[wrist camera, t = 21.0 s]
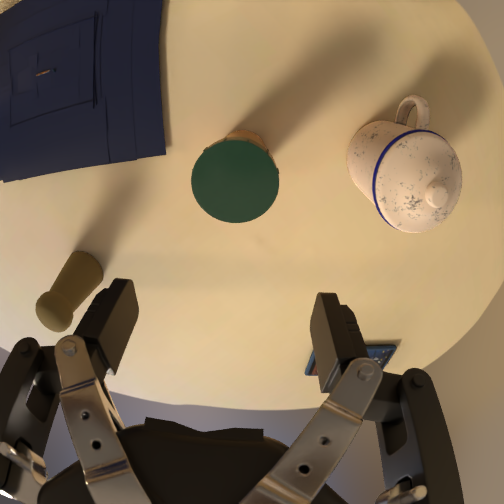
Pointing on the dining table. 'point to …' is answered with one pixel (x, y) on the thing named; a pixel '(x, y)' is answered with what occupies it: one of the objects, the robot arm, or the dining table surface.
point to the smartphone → (375, 353)
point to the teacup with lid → (406, 169)
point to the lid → (235, 180)
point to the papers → (78, 85)
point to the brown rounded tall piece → (69, 291)
